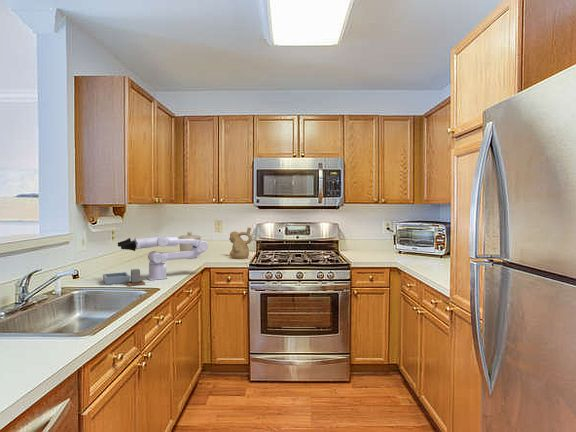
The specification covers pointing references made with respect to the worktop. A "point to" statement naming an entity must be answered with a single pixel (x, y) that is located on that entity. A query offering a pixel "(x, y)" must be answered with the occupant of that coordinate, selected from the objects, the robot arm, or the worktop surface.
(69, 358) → the worktop surface
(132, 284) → the socket
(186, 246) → the canister
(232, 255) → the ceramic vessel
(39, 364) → the worktop surface
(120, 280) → the bin
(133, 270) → the strut
